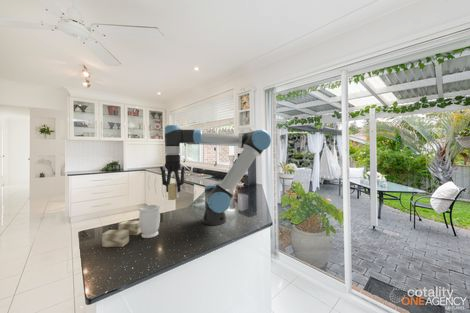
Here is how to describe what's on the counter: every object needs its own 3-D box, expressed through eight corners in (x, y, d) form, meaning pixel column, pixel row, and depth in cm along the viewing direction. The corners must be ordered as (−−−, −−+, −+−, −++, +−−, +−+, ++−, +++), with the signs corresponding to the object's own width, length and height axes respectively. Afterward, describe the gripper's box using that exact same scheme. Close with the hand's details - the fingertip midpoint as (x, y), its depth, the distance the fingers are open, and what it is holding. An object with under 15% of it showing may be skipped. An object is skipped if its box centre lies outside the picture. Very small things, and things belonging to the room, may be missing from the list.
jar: (152, 240, 102) (152, 210, 101) (134, 238, 104) (134, 209, 103) (164, 231, 112) (163, 205, 112) (147, 230, 114) (147, 204, 114)
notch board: (141, 231, 113) (141, 220, 113) (123, 246, 95) (122, 233, 95) (123, 231, 113) (123, 220, 113) (102, 246, 95) (101, 234, 95)
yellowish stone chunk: (178, 197, 112) (178, 182, 111) (174, 199, 106) (174, 184, 105) (172, 197, 112) (171, 182, 111) (168, 199, 106) (167, 184, 105)
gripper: (189, 154, 112) (190, 196, 112) (160, 154, 112) (161, 196, 113) (186, 154, 104) (186, 199, 105) (154, 154, 105) (155, 199, 105)
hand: (173, 197), depth 109 cm, fingers closed on yellowish stone chunk, 3 cm apart
